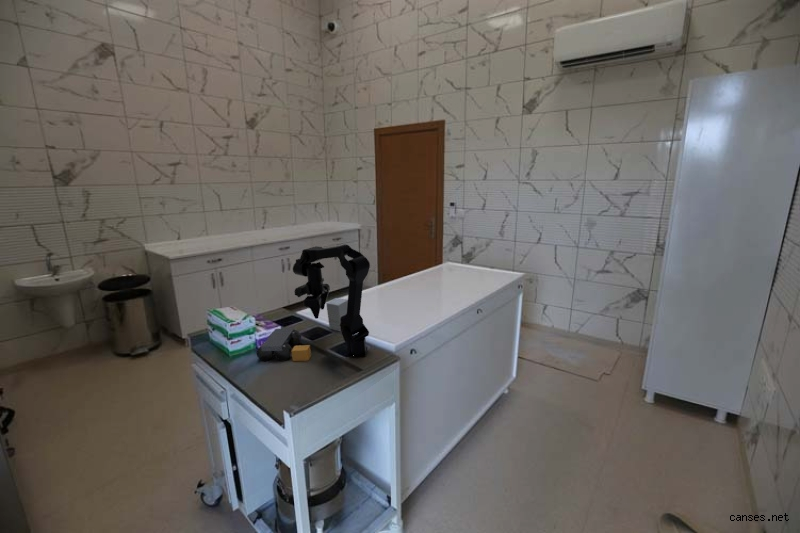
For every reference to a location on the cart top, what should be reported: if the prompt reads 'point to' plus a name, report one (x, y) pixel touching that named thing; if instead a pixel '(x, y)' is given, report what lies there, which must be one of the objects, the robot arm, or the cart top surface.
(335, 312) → the supplement box
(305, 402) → the cart top surface
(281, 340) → the trolley
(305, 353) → the block
